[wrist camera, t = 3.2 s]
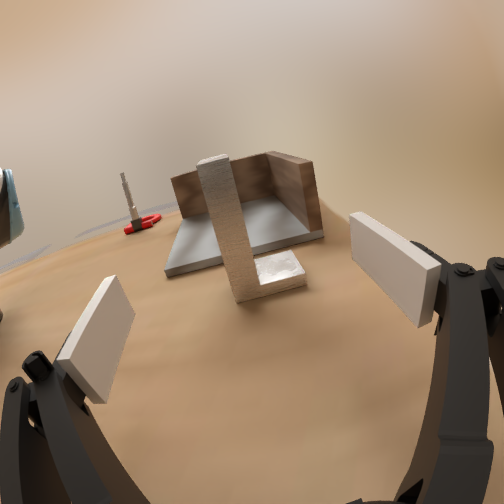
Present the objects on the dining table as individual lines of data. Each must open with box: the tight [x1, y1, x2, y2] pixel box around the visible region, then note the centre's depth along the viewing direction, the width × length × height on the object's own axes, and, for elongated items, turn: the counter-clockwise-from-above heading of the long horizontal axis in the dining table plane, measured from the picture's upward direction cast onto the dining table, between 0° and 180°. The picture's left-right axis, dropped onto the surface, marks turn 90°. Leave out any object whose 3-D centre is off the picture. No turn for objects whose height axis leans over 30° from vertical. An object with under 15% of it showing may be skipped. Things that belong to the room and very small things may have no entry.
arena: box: [164, 151, 324, 277], centre depth 39 cm, size 19×22×9 cm
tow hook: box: [120, 173, 161, 234], centre depth 56 cm, size 8×13×9 cm
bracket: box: [196, 154, 307, 303], centre depth 23 cm, size 6×5×12 cm
